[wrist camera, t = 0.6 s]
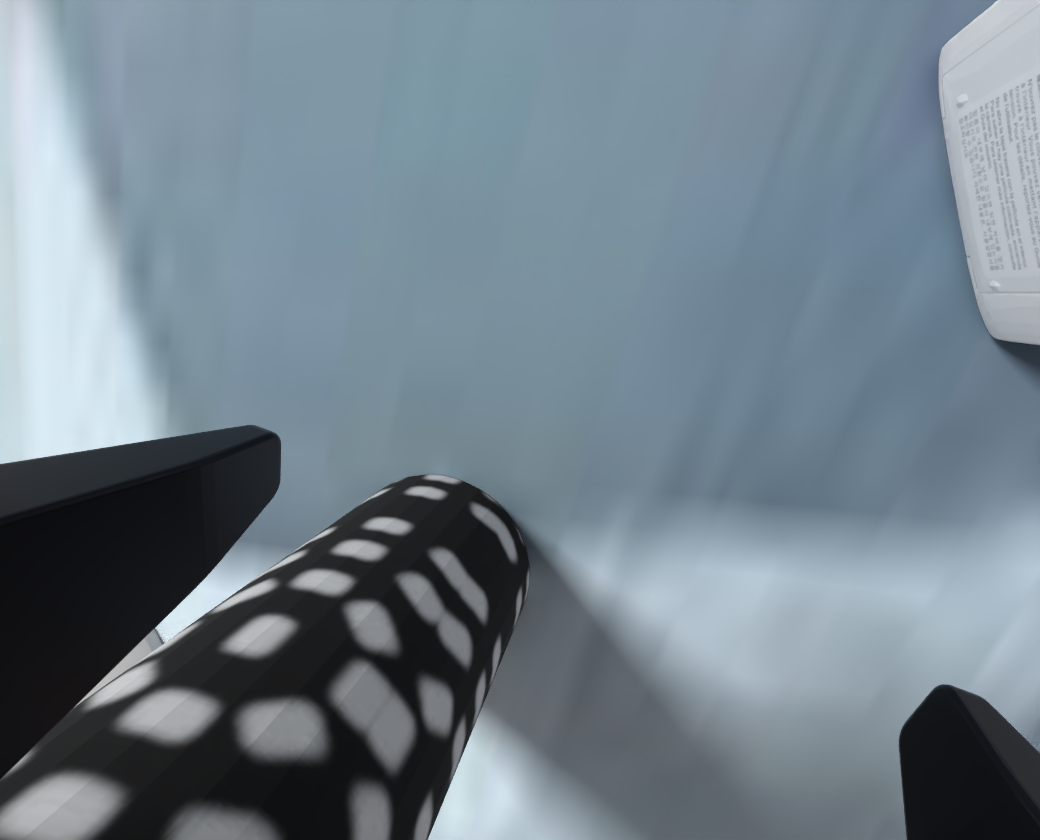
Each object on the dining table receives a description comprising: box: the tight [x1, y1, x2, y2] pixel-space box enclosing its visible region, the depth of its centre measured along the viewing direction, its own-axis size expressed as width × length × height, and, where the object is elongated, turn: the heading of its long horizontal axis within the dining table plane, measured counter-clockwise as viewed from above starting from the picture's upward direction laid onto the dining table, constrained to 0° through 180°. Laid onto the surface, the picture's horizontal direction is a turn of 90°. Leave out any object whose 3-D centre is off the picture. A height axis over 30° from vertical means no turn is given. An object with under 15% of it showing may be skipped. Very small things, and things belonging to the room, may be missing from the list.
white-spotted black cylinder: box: [0, 475, 530, 840], centre depth 16 cm, size 8×8×20 cm
